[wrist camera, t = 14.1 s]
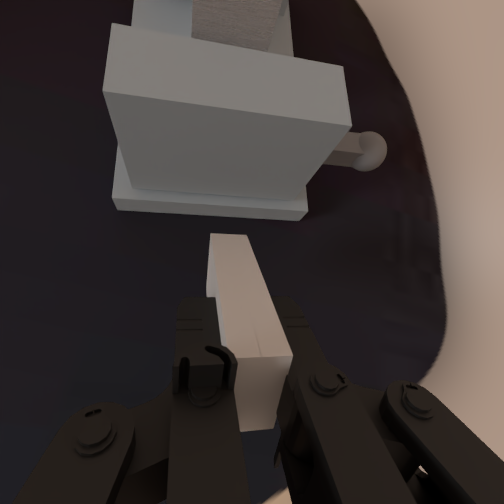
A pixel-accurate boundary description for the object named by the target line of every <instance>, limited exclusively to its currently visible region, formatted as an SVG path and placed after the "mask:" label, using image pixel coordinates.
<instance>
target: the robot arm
mask: <svg viewBox="0 0 504 504" xmlns="http://www.w3.org/2000/svg"><path fill="white" fill-rule="evenodd" d="M206 292H207V297H184V299H183V300H182V302H181V303H180V304H179V306H178V307H177V325H176V343H175V361H174V364H173V378H172V380H171V382H170V384H169V386H168V387H167V388H166V389H165V391H164V392H163V393H162V394H160V395H159V396H158V397H156V398H155V399H153V400H151V401H149V402H147V403H144V404H142V405H139V406H136V407H133V408H131V409H128V410H127V409H126V408H125V407H124V406H122V405H120V404H117V403H114V402H100V403H96V404H93V405H90V406H87V407H84V408H83V409H81V410H80V411H78V412H77V413H75V414H74V415H72V416H71V417H70V418H69V419H68V420H67V421H66V422H65V424H64V425H63V426H62V427H61V428H60V429H59V431H58V432H57V434H56V435H55V437H54V439H53V440H52V442H51V443H50V445H49V446H48V448H47V450H46V451H45V453H44V454H43V456H42V457H41V459H40V460H39V462H38V464H37V465H36V467H35V468H34V470H33V471H32V473H31V475H30V476H29V478H28V479H27V481H26V482H25V484H24V485H23V487H22V489H21V490H20V492H19V493H18V495H17V496H16V498H15V500H14V501H13V503H12V504H158V503H160V502H162V501H163V500H165V499H167V501H166V504H251V500H250V494H249V487H248V480H247V474H246V467H245V460H244V454H243V447H242V441H241V434H240V432H242V431H252V430H262V429H273V428H274V424H275V421H276V417H277V418H278V421H279V425H280V429H281V436H280V439H279V443H278V446H277V449H276V453H275V456H274V468H278V467H279V464H280V461H281V460H282V464H283V468H284V472H285V476H286V481H287V485H288V489H289V493H290V496H291V501H292V504H504V462H503V461H502V460H501V459H500V458H499V457H498V456H497V455H496V454H495V453H494V452H493V451H492V450H491V449H490V448H489V447H488V446H487V445H486V444H485V443H484V442H482V441H481V440H480V439H479V438H478V437H477V436H476V435H475V434H474V433H473V432H472V431H471V430H470V429H469V428H468V427H467V426H466V425H465V424H464V423H463V422H462V421H461V420H459V419H458V418H457V417H456V416H455V415H454V414H453V413H452V412H451V411H450V410H449V409H448V408H447V407H446V406H445V405H444V404H443V403H442V402H441V401H439V399H438V398H436V397H435V396H434V395H433V394H432V393H430V392H429V391H428V390H426V389H425V388H424V387H421V386H420V385H418V384H416V383H413V382H409V381H405V380H399V381H394V382H392V383H391V384H390V385H388V387H387V389H386V391H385V392H383V391H378V390H374V389H370V388H365V387H361V386H358V385H355V384H352V383H351V382H350V380H349V379H348V378H347V376H346V375H345V374H344V373H343V372H342V371H340V370H339V369H338V368H336V367H335V366H332V365H330V364H328V362H327V360H326V358H325V356H324V354H323V352H322V350H321V348H320V346H319V344H318V342H317V340H316V338H315V336H314V334H313V333H312V331H311V329H310V328H309V325H308V323H307V321H306V319H305V318H304V315H303V313H302V311H301V309H300V307H299V305H298V304H297V303H296V302H294V301H293V300H292V299H291V298H290V297H289V296H270V295H269V292H268V289H267V287H266V284H265V282H264V279H263V276H262V274H261V271H260V269H259V266H258V264H257V261H256V258H255V256H254V253H253V251H252V248H251V245H250V243H249V240H248V238H247V235H233V234H213V233H211V234H210V247H209V260H208V272H207V285H206ZM420 465H421V466H422V468H423V469H424V470H425V471H426V472H427V474H426V473H424V472H423V471H421V470H420V469H419V466H420Z"/></svg>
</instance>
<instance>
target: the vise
mask: <svg viewBox="0 0 504 504" xmlns="http://www.w3.org/2000/svg"><path fill="white" fill-rule="evenodd" d="M288 1H289V0H282V4H281V7H280V10H279V14H278V17H277V21H276V24H275V27H274V31H273V34H272V37H271V41H270V44H269V47H268V51H267V52H269V53H274V54H279V55H285V56H290V57H294V56H293V45H292V35H291V24H290V13H289V3H288ZM192 5H193V0H134V6H133V15H132V24H131V27H136V28H141V29H147V30H152V31H157V32H163V33H168V34H173V35H178V36H184V37H189V38H191V32H192ZM112 199H113V201H114V204H115V206H116V208H117V210H126V211H142V212H159V213H175V214H192V215H208V216H225V217H241V218H258V219H274V220H291V221H299V220H300V219H301V218H302V217H303V216H304V215H305V214H306V213H307V212H308V205H307V194H306V185H305V187H304V188H303V189H302V191H301V192H300V193H299V194H298V196H297V197H296V198H295V199H294V201H293V200H280V199H267V198H254V197H241V196H228V195H215V194H202V193H189V192H175V191H162V190H149V189H136V188H132V186H131V183H130V179H129V176H128V173H127V170H126V166H125V163H124V160H123V156H122V153H121V150H120V147H119V143H118V148H117V157H116V166H115V175H114V184H113V193H112Z"/></svg>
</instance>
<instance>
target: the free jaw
mask: <svg viewBox="0 0 504 504" xmlns="http://www.w3.org/2000/svg"><path fill="white" fill-rule="evenodd" d="M103 94H104V97H105V101H106V104H107V107H108V110H109V114H110V117H111V120H112V124H113V127H114V130H115V133H116V137H117V140H118V143H119V147H120V150H121V153H122V156H123V160H124V163H125V166H126V170H127V173H128V176H129V179H130V183H131V186H132V188H136V189H149V190H162V191H175V192H189V193H202V194H215V195H228V196H241V197H254V198H267V199H280V200H293V201H294V199H295V198H296V197H297V196H298V194H299V193H300V192H301V191H302V189H303V188H304V187H305V185H306V184H307V183H308V182H309V180H310V179H311V178H312V176H313V175H314V174H315V173H316V171H317V170H318V169H319V168H320V166H321V165H322V164H329V165H338V166H348V167H353V168H354V169H356V170H359V171H370V170H373V169H375V168H377V167H378V166H379V165H380V164H381V163H382V162H383V161H384V159H385V157H386V153H387V145H386V142H385V140H384V139H383V137H382V136H381V135H379V134H377V133H375V132H363V133H353V132H348V131H349V129H350V128H351V127H352V123H351V117H350V110H349V104H348V97H347V90H346V84H345V77H344V71H343V66H338V65H333V64H327V63H322V62H317V61H311V60H306V59H301V58H295V57H290V56H285V55H279V54H274V53H269V52H263V51H258V50H253V49H248V48H242V47H237V46H232V45H226V44H221V43H216V42H210V41H205V40H200V39H194V38H189V37H184V36H178V35H173V34H168V33H163V32H157V31H152V30H147V29H141V28H136V27H131V26H125V25H120V24H115V23H112V27H111V34H110V41H109V48H108V56H107V63H106V70H105V77H104V85H103Z"/></svg>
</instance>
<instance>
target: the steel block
mask: <svg viewBox="0 0 504 504" xmlns="http://www.w3.org/2000/svg"><path fill="white" fill-rule="evenodd" d="M281 4H282V0H193V5H192V32H191V38H194V39H200V40H205V41H210V42H216V43H221V44H226V45H232V46H237V47H242V48H248V49H253V50H258V51H263V52H267V51H268V47H269V44H270V41H271V37H272V34H273V31H274V27H275V24H276V21H277V17H278V14H279V10H280V7H281Z"/></svg>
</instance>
